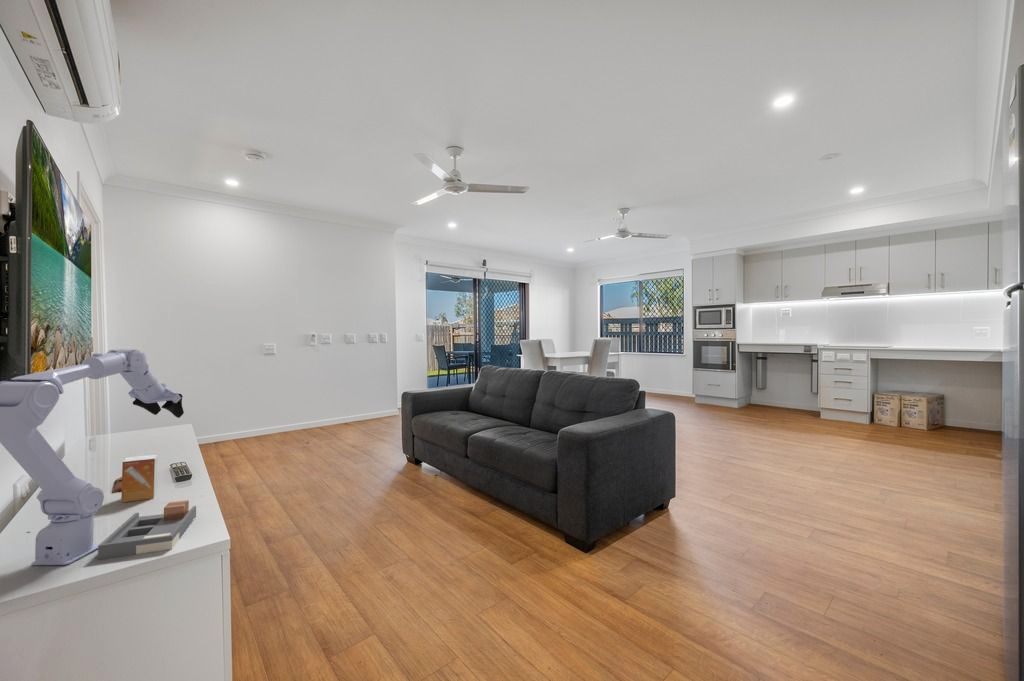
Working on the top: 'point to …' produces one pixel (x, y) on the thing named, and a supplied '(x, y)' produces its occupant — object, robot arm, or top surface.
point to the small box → (139, 478)
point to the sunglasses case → (118, 485)
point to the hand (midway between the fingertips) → (169, 413)
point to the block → (176, 510)
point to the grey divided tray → (145, 535)
